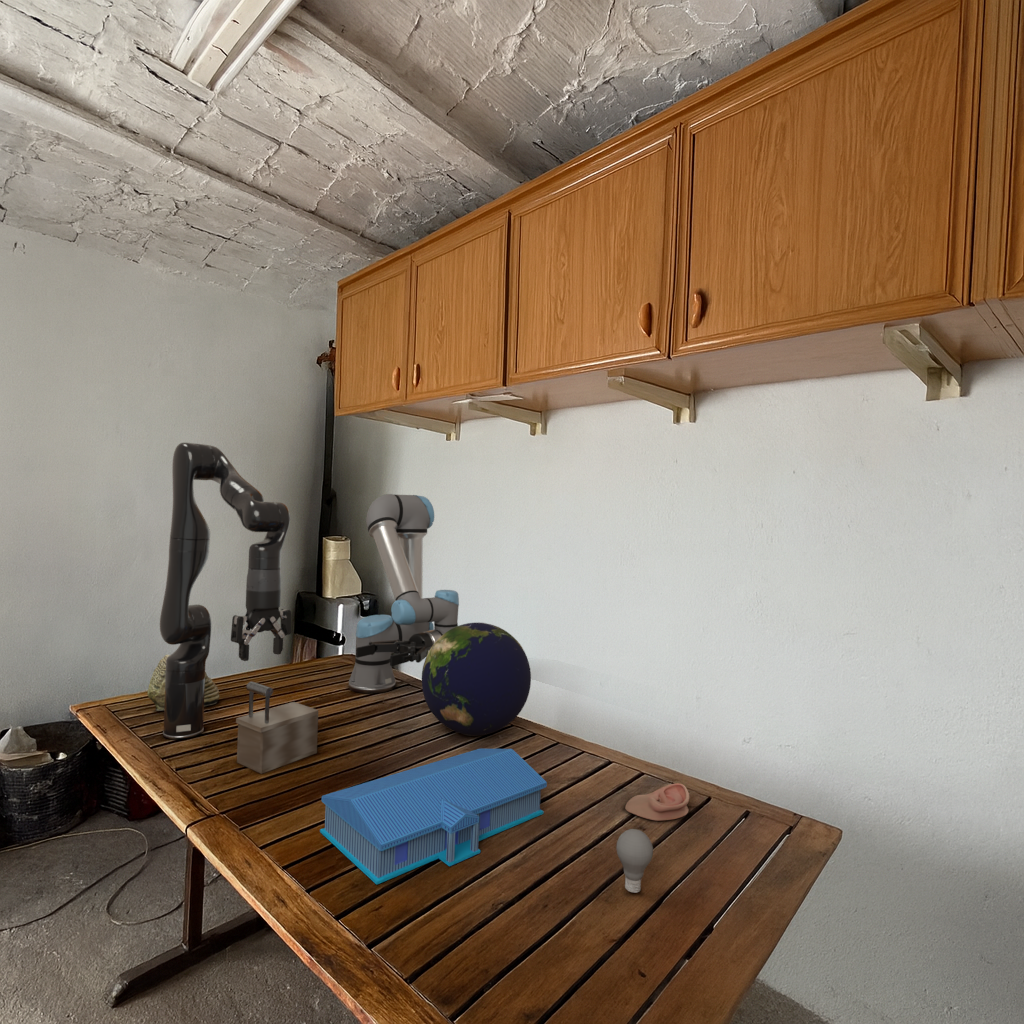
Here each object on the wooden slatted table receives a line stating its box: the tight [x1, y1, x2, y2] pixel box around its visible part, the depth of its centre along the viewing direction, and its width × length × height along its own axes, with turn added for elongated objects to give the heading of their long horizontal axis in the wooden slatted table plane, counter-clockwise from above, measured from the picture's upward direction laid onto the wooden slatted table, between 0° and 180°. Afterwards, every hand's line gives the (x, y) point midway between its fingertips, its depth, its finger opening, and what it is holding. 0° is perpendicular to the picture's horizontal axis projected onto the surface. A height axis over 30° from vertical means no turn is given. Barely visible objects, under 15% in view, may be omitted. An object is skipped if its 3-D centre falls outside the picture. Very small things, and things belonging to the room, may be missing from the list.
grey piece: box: [235, 681, 319, 733], centre depth 152 cm, size 16×10×9 cm, turn 146°
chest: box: [236, 714, 319, 775], centre depth 152 cm, size 15×10×10 cm, turn 146°
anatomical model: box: [624, 783, 691, 822], centre depth 135 cm, size 13×4×12 cm
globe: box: [421, 621, 532, 737], centre depth 174 cm, size 30×30×30 cm
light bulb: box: [615, 828, 654, 894], centre depth 106 cm, size 6×6×10 cm
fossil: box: [147, 654, 221, 712], centre depth 185 cm, size 9×18×15 cm, turn 132°
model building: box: [319, 747, 548, 885], centre depth 124 cm, size 39×24×10 cm, turn 132°
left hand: (261, 657), depth 147 cm, fingers open, 8 cm apart
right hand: (373, 656), depth 177 cm, fingers open, 13 cm apart
